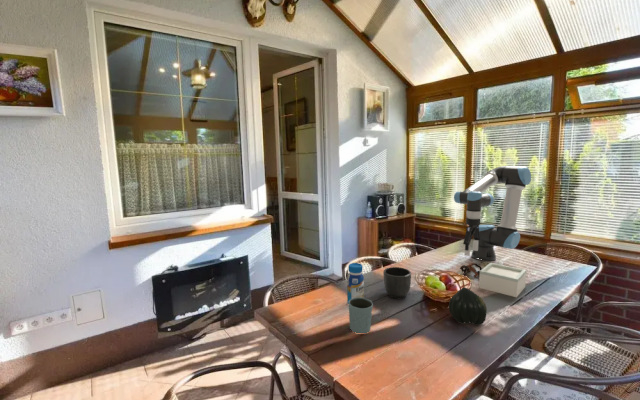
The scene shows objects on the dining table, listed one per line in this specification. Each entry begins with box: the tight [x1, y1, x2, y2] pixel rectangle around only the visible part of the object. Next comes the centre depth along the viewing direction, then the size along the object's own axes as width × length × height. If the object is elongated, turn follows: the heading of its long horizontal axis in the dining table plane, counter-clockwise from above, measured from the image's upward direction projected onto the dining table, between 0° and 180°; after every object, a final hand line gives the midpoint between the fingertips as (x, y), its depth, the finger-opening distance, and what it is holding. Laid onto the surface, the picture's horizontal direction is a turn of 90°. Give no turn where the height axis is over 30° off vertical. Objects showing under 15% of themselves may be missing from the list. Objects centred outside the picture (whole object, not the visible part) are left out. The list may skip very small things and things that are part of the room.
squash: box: [448, 286, 488, 326], centre depth 140 cm, size 14×15×15 cm
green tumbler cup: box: [347, 297, 374, 334], centre depth 134 cm, size 10×10×12 cm
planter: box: [383, 266, 412, 299], centre depth 166 cm, size 14×14×13 cm
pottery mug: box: [460, 262, 483, 278], centre depth 192 cm, size 12×10×8 cm
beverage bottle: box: [346, 262, 365, 304], centre depth 157 cm, size 8×8×20 cm
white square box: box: [478, 262, 527, 298], centre depth 174 cm, size 18×18×10 cm
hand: (471, 253), depth 191 cm, fingers open, 13 cm apart
